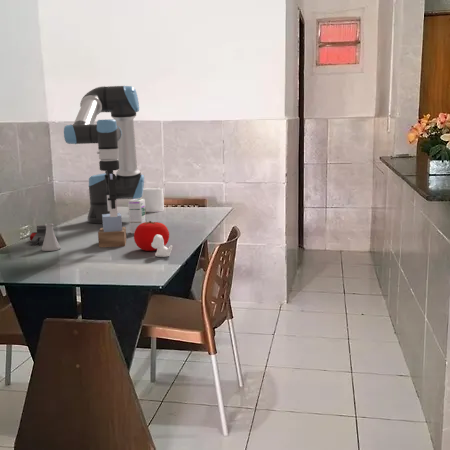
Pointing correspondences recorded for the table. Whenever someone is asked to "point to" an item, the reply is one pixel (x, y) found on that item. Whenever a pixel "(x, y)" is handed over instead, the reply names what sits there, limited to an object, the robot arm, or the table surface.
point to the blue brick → (112, 223)
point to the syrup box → (136, 213)
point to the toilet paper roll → (153, 199)
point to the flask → (50, 239)
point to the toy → (38, 235)
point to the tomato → (150, 234)
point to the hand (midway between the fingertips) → (112, 213)
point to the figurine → (161, 247)
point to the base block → (112, 238)
